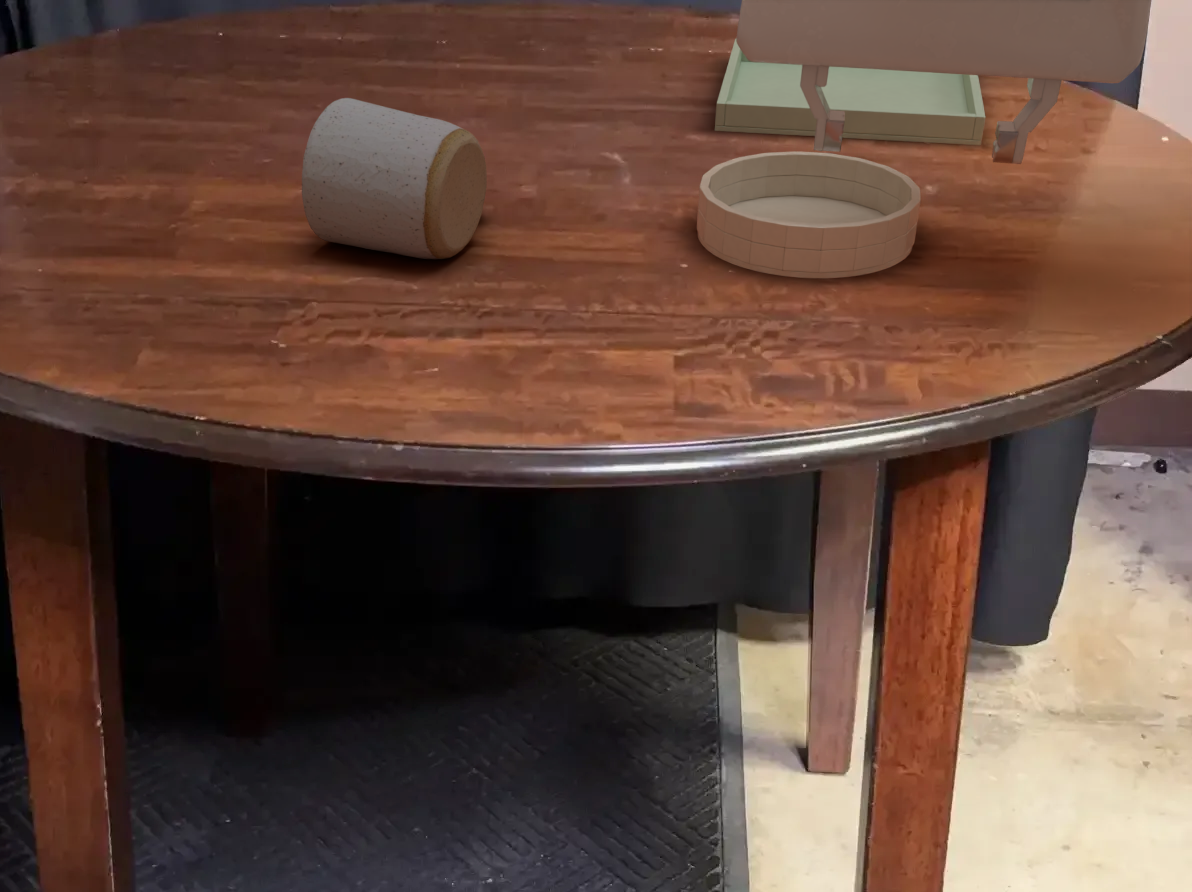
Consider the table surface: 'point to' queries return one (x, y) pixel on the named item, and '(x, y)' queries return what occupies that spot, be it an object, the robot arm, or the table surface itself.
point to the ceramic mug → (392, 181)
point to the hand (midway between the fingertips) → (915, 154)
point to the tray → (852, 102)
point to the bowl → (808, 214)
